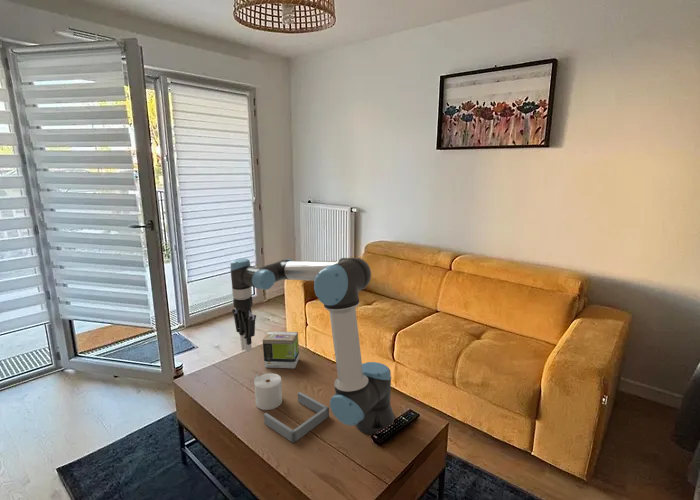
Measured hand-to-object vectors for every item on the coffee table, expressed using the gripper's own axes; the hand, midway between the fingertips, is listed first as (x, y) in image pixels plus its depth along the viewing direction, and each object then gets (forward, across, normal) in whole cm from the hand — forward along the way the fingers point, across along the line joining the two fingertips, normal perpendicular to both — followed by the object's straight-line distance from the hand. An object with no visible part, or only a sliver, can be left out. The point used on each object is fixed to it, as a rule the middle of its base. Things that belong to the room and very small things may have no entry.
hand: (246, 349), depth 162 cm
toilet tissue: (+20, -12, 0) cm, 23 cm away
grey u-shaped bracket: (+19, -29, 0) cm, 35 cm away
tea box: (+20, +7, -24) cm, 32 cm away
